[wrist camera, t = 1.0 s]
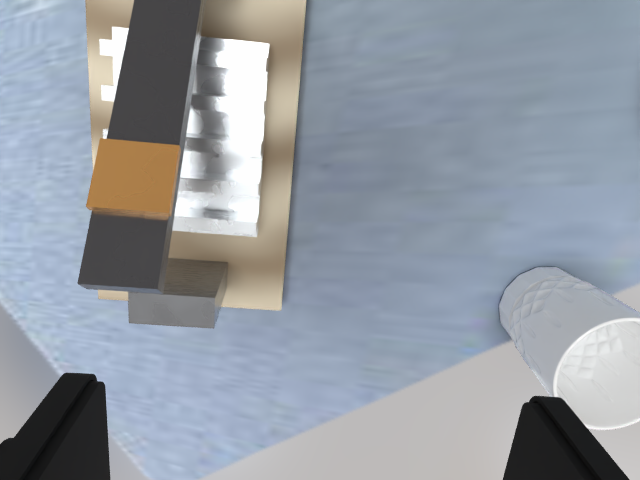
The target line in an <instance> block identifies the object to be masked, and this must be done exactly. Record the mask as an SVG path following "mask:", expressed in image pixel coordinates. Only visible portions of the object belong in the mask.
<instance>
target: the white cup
mask: <svg viewBox="0 0 640 480" xmlns="http://www.w3.org/2000/svg"><path fill="white" fill-rule="evenodd" d="M499 313H500V322H501V324H502V326H503V327H504V328H505V330H506V331H507V333H508V334H509V335H510V337H511V338H512V340H513V341H514V343H515V345H516V348H517V350H518V351H519V352H520V354H521V356H522V357H523V359H524V360H525V362H526V363H527V364H528V366H529V367H530V369H531V370H532V371H533V373H534V374H535V375H536V377H537V378H538V380H539V381H540V383H541V384H542V386H543V387H544V388H545V390H546V391H547V392H548V394H549V395H550V397H559V398H562V399H563V400H564V401H565V402H566V403H567V404H568V406H569V407H570V408H571V409H572V410H573V412H574V413H575V414H576V415H577V416H578V418H579V419H580V420H581V421H582V423H583V424H584V425H585V426H586V427H587V428H589V429H594V430H612V429H618V428H622V427H626V426H629V425H632V424H634V423H636V422H638V421H640V313H639V312H638V311H636V310H634V309H633V308H631V307H629V306H628V305H626V304H624V303H623V302H621V301H619V300H617V299H616V298H614V297H613V296H611V295H609V294H608V293H606V292H604V291H603V290H601V289H599V288H597V287H595V286H593V285H591V284H590V283H588V282H586V281H582V280H580V279H578V278H577V277H575V276H573V275H572V274H570V273H568V272H566V271H564V270H562V269H560V268H558V267H536V268H534V269H532V270H529V271H527V272H525V273H522V274H520V275H519V276H518V277H517V278H516V279H515V280H514V281H513V282H512V283H511V284H510V285H509V286H508V287H507V288H506V289H505V291H504V294H503V296H502V299H501V301H500V304H499Z"/></svg>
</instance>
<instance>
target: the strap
mask: <svg viewBox="0 0 640 480" xmlns="http://www.w3.org/2000/svg"><path fill="white" fill-rule="evenodd" d="M205 4H206V0H134V4H133V9H132V14H131V19H130V24H129V29H128V34H127V39H126V44H125V49H124V54H123V59H122V64H121V69H120V74H119V79H118V84H117V89H116V94H115V99H114V104H113V109H112V114H111V119H110V124H109V129H108V134H107V139H104V138H100V141H99V146H98V151H97V156H96V160H95V165H94V170H93V175H92V180H91V185H90V190H89V195H88V200H87V204H86V207H87V208H88V209H89V210H92V214H91V219H90V224H89V229H88V234H87V239H86V244H85V249H84V254H83V259H82V264H81V269H80V274H79V279H78V284H79V285H81V286H82V287H84V288H86V289H95V290H110V291H125V292H140V293H155V294H163V291H164V284H165V277H166V270H167V263H168V257H169V250H170V243H171V236H172V229H173V222H174V216H175V209H176V202H177V195H178V188H179V182H180V175H181V168H182V161H183V154H184V147H185V141H186V134H187V127H188V120H189V113H190V107H191V100H192V93H193V86H194V79H195V72H196V66H197V59H198V52H199V45H200V38H201V31H202V25H203V18H204V11H205Z"/></svg>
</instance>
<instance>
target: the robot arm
mask: <svg viewBox="0 0 640 480" xmlns="http://www.w3.org/2000/svg"><path fill="white" fill-rule="evenodd" d="M0 480H110V466H109V448H108V429H107V411H106V393H105V384H104V382H98V381H97V378H96V376H95V375H94V374H82V373H64V374H63V375H62V376H61V377H60V379H59V380H58V382H57V383H56V384H55V385H54V386H53V388H52V389H51V390H50V392H49V393H48V394H47V396H46V397H45V398H44V399H43V401H42V402H41V403H40V405H39V406H38V407H37V408H36V410H35V411H34V412H33V414H32V415H31V416H30V418H29V419H28V420H27V421H26V423H25V424H24V425H23V427H22V428H21V429H20V431H19V432H18V433H17V434H16V436H15V437H14V438H8V439H6V440H4V441H3V442H2V443H1V444H0ZM503 480H629V479H628V477H627V476H626V475H625V474H624V472H623V471H622V470H621V469H620V468H619V467H618V465H617V464H616V463H615V462H614V460H613V459H612V458H611V457H610V455H609V454H608V453H607V452H606V451H605V449H604V448H603V447H602V446H601V444H600V443H599V442H598V441H597V440H596V438H595V437H594V436H593V435H592V433H591V432H590V431H589V430H588V429H587V427H586V426H585V425H584V424H583V423H582V421H581V420H580V419H579V418H578V416H577V415H576V414H575V413H574V412H573V410H572V409H571V408H570V407H569V406H568V404H567V403H566V402H565V401H564V400H563V399H562V398H559V397H544V396H534V397H532V398H531V399H530V401H529V402H527V403H524V404H523V406H522V409H521V413H520V417H519V421H518V425H517V428H516V432H515V436H514V439H513V443H512V447H511V451H510V454H509V458H508V462H507V466H506V469H505V473H504V477H503Z"/></svg>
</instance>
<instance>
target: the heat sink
mask: <svg viewBox="0 0 640 480" xmlns="http://www.w3.org/2000/svg"><path fill="white" fill-rule="evenodd" d="M127 34H128V28H119V27H112V40H105V39H100V55H107V56H113V78H114V85H101V93H102V100H105V101H114V99H115V94H116V89H117V84H118V79H119V74H120V69H121V64H122V59H123V54H124V49H125V44H126V39H127ZM269 56H270V44H267V43H258V42H248V41H239V40H230V39H221V38H211V37H202V36H201V38H200V45H199V52H198V59H197V66H196V72H195V79H194V86H193V93H192V100H191V107H190V113H189V120H188V127H187V134H186V141H185V147H184V154H183V161H182V168H181V175H180V182H179V188H178V195H177V202H176V209H175V216H174V222H173V229H172V231H184V232H197V233H210V234H223V235H236V236H249V237H257V235H258V231H259V216H260V200H261V184H262V168H263V152H264V136H265V120H266V104H267V88H268V72H269ZM108 129H109V128H105V129H103V138H104V139H107V134H108ZM227 274H228V262H220V261H206V260H192V259H178V258H168V263H167V270H166V277H165V284H164V291H163V294H155V293H140V292H128V309H129V323H135V324H151V325H167V326H183V327H199V328H214V327H215V324H216V321H217V318H218V314H219V311H220V308H221V305H222V302H223V299H224V296H225V293H226V289H227Z"/></svg>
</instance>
